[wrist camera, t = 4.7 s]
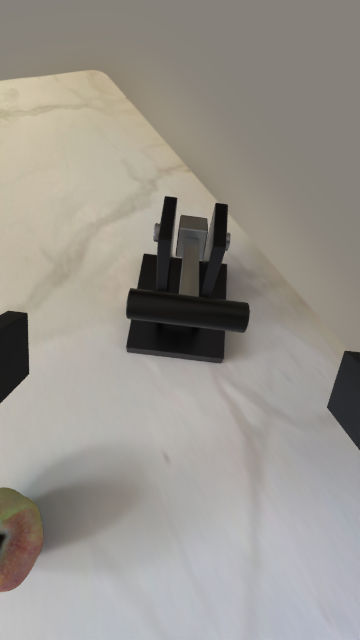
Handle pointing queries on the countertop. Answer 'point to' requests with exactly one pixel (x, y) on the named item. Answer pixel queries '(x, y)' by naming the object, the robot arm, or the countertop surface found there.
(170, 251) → the black lever stand
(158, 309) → the lever
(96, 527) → the countertop surface
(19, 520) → the apple
